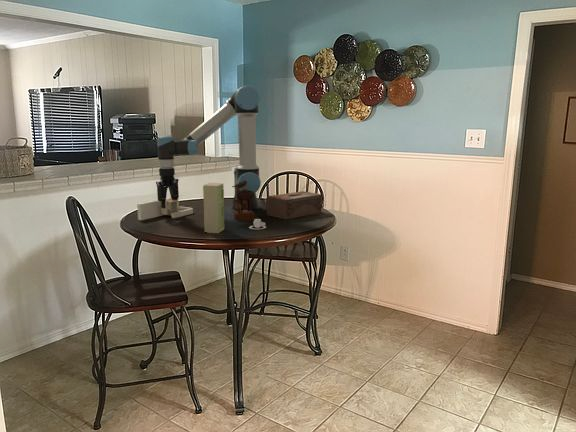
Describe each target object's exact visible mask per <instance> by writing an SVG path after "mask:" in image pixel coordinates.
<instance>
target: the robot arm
mask: <svg viewBox="0 0 576 432" xmlns="http://www.w3.org/2000/svg"><path fill="white" fill-rule="evenodd" d="M259 103H260V94H259V92H258V90H257V89H256V88H255V87H253V86H251V85H242V86H240V87H239V88H238V89H236V90H235V91H234V93H233V94H232V95H231V96H230V97H229V98H228V99H227V100H226V101H225V103H224V105H223V106H221V107H220V108H219V109H218V110H217V111H215V112H214V113H213V114H212V115H211V116H209V117H208V118H207V119H205V120H204V121H203V122H202V123H201V124H199V126H197V127H196V128H195V129H194V130H192V131H191V132H190V133H189V134H187V135H186V136H185V137H184V138H182V139H181V140H179V139H178V140H175V139H173V138H174V137H173V136H167V135H165V136H162V135H161V136H158V137H157V141H156V142H157V145H156V146H157V157H158V168H159V169H158V173H159V174H158V175H159V177H160V178H159V180H157V181H155V185H156V191H157V192H156V194H157V195H156V196H157V200H158V201H160V202H161V206H162V210H163V214H165V215H164V216H169V215H168V210H167V202H166V198H167V194H168V192H169V195H170V197H171V199H172V200H177V199H178V200H179V198H180V196H179V181H180V180H179V178H175V174H176V173H175V170H176V169H175V156H197V155H198V153H199V151H198V150H199V147H198V146H200V145H201V144H202V143H204V142H205V141H206V140H207V139H208V138H209V137H211V136H212V135H213V134H214V133H216V132H217V131H218V130H219V129H220V128H221V127H223V126H224V125H225V124H227V123H228V122H229V121H230V120H231V119H233V118H234V117H236V116H237V117H238V146H239V147H238V157H239V158H238V159H239V164H238V165H237V166H235V167H234V171H233V176H234V177H233V178H234V180H233V183H234V185H233V186H235V185H236V184H238V183H240V182H243V181H244V180H246V181H247V184H246V185H247V187H246V186H244V187H242V188H240V191H242V190H243V189H244V188H245V189H246V188H247V190H249V191H253V192H254V197H253V199H250V200H253V201H251V202H252V203H253V205H250V210H251V211H254V210H259V209H260V203H259V200H258V198H257V194H256V192H258V191H259V189H260V187H261V183H262V182H261V178H260V167H259V166H258V164H257V139H256V136H257V133H256V124H257V123H256V117H257V116H258V115H259ZM236 188H237V187H234V196H233V199H232V203H231V209H232V210H234V211H235V207H236V202H234V200H236V192H237V191H239V188H237V190H236ZM237 200H238V199H237ZM245 201H246V200H245ZM239 204H241V203H240V202H237V206H239ZM242 204H243V200H242ZM247 204H248V200H247ZM238 208H239V207H238ZM243 208H244V209H243V210H248V206H247V208H245V207H244V206H243Z"/></svg>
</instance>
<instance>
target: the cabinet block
mask: <svg viewBox="0 0 576 432" xmlns="http://www.w3.org/2000/svg"><path fill="white" fill-rule="evenodd" d="M166 202H167V210H168V215H167V216H171V213H174V212H178V206H177V200H171V199H166ZM160 210H161V214H163V210H162V206H161V202H160ZM163 216H166V215H165V214H164V215H163Z"/></svg>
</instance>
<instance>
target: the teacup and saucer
mask: <svg viewBox="0 0 576 432" xmlns="http://www.w3.org/2000/svg"><path fill="white" fill-rule="evenodd" d="M253 227H255V228H253ZM261 227H262V228H261ZM248 228H249V229H250V230H255V229H260V230H263V229H266V228H267V226H266V222H264V221H262V219H260V218H255V219H254V220H253V225H250V226H248Z"/></svg>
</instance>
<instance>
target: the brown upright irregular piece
mask: <svg viewBox="0 0 576 432" xmlns="http://www.w3.org/2000/svg"><path fill="white" fill-rule="evenodd" d="M246 184H247V181H246V180H244V181H243V182H240V183H238V184H236V185H235V186H234V185H232V186H231V187H232V188H235V187H237V188H239V191H237V192H236V200H234V202H236V207H235V210H234V213H233V218H234V219H233V220H234V221H235V222H236V221H237V222H238V221H239V222H249V221H250V222H251V221H254V219H256V216H255V215H256V213H255V211H254V210H250V205H253V203H252V202H251V201H253V200H250V199H253V197H254V192H253V191H249V190H247V188H246V189H245V188H244V189H243V190H242V191H240V188H242V187H244V186H246V187H247V185H246ZM237 188H236V190H237ZM237 199H238V200H237ZM242 200H243V204H242ZM245 200H246V201H245ZM247 200H248V204H247ZM237 202H240V203H241V204H239V206H237ZM243 206H244V207H245V208H247V206H248V210H243V209H244V208H243ZM238 207H239V208H238Z"/></svg>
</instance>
